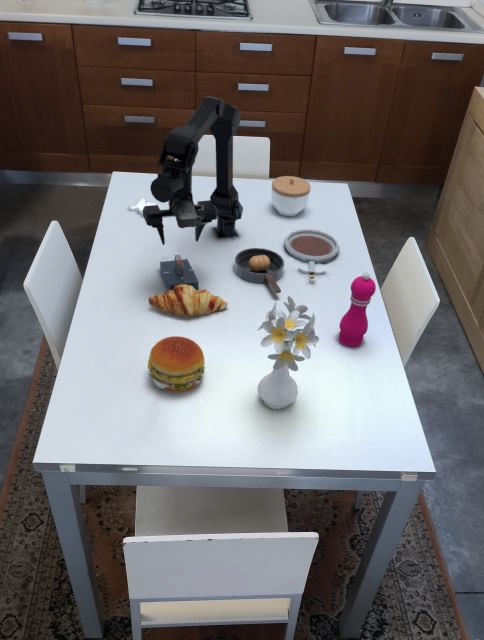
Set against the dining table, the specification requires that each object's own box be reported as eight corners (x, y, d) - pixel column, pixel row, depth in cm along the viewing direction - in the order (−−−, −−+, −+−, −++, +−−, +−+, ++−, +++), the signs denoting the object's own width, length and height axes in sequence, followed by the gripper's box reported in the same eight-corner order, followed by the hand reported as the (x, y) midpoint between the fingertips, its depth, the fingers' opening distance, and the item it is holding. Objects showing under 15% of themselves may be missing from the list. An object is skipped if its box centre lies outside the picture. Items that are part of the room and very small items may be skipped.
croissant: (225, 313, 178) (226, 284, 175) (229, 319, 168) (230, 288, 166) (148, 312, 175) (148, 282, 173) (148, 317, 166) (148, 285, 163)
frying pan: (283, 275, 183) (285, 225, 202) (282, 283, 185) (283, 233, 204) (342, 281, 183) (338, 230, 202) (340, 289, 185) (337, 238, 204)
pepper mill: (366, 335, 170) (384, 269, 155) (361, 351, 165) (379, 284, 150) (339, 328, 171) (355, 262, 157) (333, 344, 166) (349, 276, 152)
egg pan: (228, 261, 190) (228, 250, 188) (272, 256, 194) (274, 245, 191) (243, 287, 181) (244, 277, 179) (289, 281, 185) (291, 271, 182)
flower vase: (255, 431, 143) (267, 342, 125) (246, 376, 155) (255, 288, 137) (312, 430, 144) (332, 341, 126) (299, 375, 157) (315, 288, 138)
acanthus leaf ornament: (142, 201, 212) (142, 196, 211) (158, 208, 210) (158, 203, 208) (127, 209, 208) (127, 204, 206) (143, 216, 205) (143, 211, 204)
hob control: (159, 271, 184) (159, 261, 182) (187, 267, 186) (187, 258, 184) (169, 294, 177) (169, 284, 174) (198, 290, 179) (199, 281, 176)
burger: (183, 404, 147) (183, 371, 140) (136, 381, 151) (134, 348, 144) (215, 373, 155) (217, 340, 148) (169, 352, 160) (169, 319, 152)
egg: (245, 267, 188) (247, 253, 185) (266, 264, 190) (267, 251, 186) (250, 275, 185) (252, 261, 182) (271, 272, 187) (273, 259, 184)
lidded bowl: (263, 214, 211) (267, 181, 203) (276, 198, 220) (280, 166, 212) (299, 223, 209) (304, 191, 201) (311, 207, 217) (316, 175, 209)
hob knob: (174, 267, 180) (174, 254, 177) (179, 267, 181) (179, 253, 178) (178, 275, 178) (178, 262, 175) (183, 275, 178) (183, 261, 175)
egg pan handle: (264, 277, 181) (264, 274, 181) (270, 276, 182) (270, 273, 181) (274, 293, 176) (275, 290, 175) (280, 292, 176) (281, 290, 176)
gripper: (151, 204, 154) (153, 262, 165) (225, 197, 159) (221, 254, 170) (141, 183, 161) (143, 240, 172) (212, 177, 166) (209, 233, 177)
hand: (180, 242), depth 173 cm, fingers open, 9 cm apart
